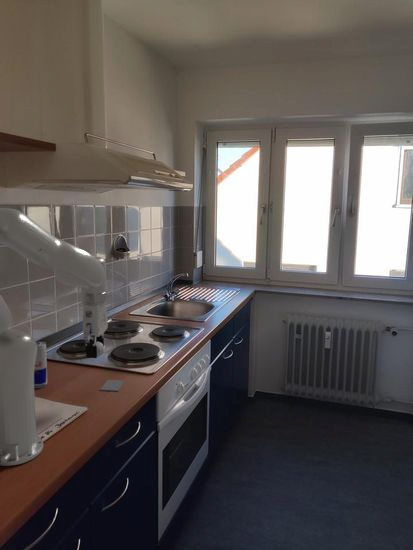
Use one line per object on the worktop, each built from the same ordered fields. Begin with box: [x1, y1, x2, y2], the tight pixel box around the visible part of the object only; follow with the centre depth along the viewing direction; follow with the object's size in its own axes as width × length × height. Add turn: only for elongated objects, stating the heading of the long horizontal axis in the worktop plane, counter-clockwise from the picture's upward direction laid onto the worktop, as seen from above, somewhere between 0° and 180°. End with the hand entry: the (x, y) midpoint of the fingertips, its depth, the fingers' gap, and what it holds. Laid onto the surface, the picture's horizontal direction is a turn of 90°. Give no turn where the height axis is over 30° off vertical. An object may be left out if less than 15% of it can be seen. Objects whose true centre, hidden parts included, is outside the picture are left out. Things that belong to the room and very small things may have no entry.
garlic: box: [96, 342, 105, 358], centre depth 133 cm, size 6×5×5 cm
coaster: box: [100, 379, 125, 392], centre depth 147 cm, size 8×6×1 cm
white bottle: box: [34, 341, 48, 389], centre depth 145 cm, size 5×5×15 cm
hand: (95, 353), depth 134 cm, fingers closed on garlic, 6 cm apart
